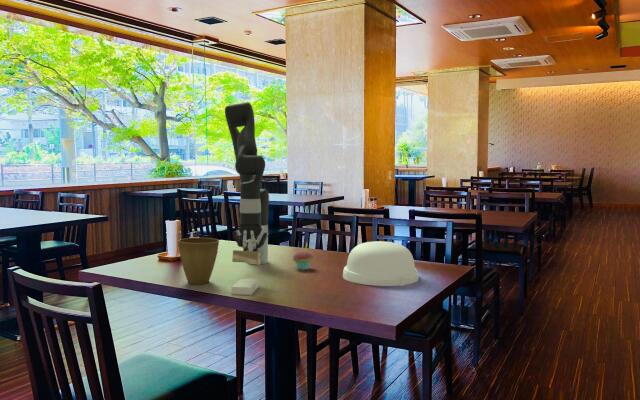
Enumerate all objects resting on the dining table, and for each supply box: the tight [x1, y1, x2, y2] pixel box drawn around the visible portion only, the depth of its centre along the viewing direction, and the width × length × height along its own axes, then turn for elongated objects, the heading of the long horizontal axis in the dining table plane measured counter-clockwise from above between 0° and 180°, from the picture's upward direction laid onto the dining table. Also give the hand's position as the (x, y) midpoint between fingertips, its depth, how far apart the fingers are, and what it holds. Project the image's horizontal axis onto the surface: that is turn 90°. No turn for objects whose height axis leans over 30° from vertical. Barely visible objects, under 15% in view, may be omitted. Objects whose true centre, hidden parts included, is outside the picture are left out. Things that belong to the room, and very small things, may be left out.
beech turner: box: [231, 249, 261, 265], centre depth 189 cm, size 14×9×4 cm, turn 167°
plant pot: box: [177, 237, 220, 285], centre depth 195 cm, size 15×15×16 cm
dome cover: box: [342, 240, 419, 287], centre depth 207 cm, size 32×30×14 cm
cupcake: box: [292, 240, 314, 271], centre depth 222 cm, size 9×8×12 cm
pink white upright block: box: [230, 278, 260, 295], centre depth 184 cm, size 3×7×12 cm
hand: (250, 258), depth 188 cm, fingers closed on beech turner, 2 cm apart
